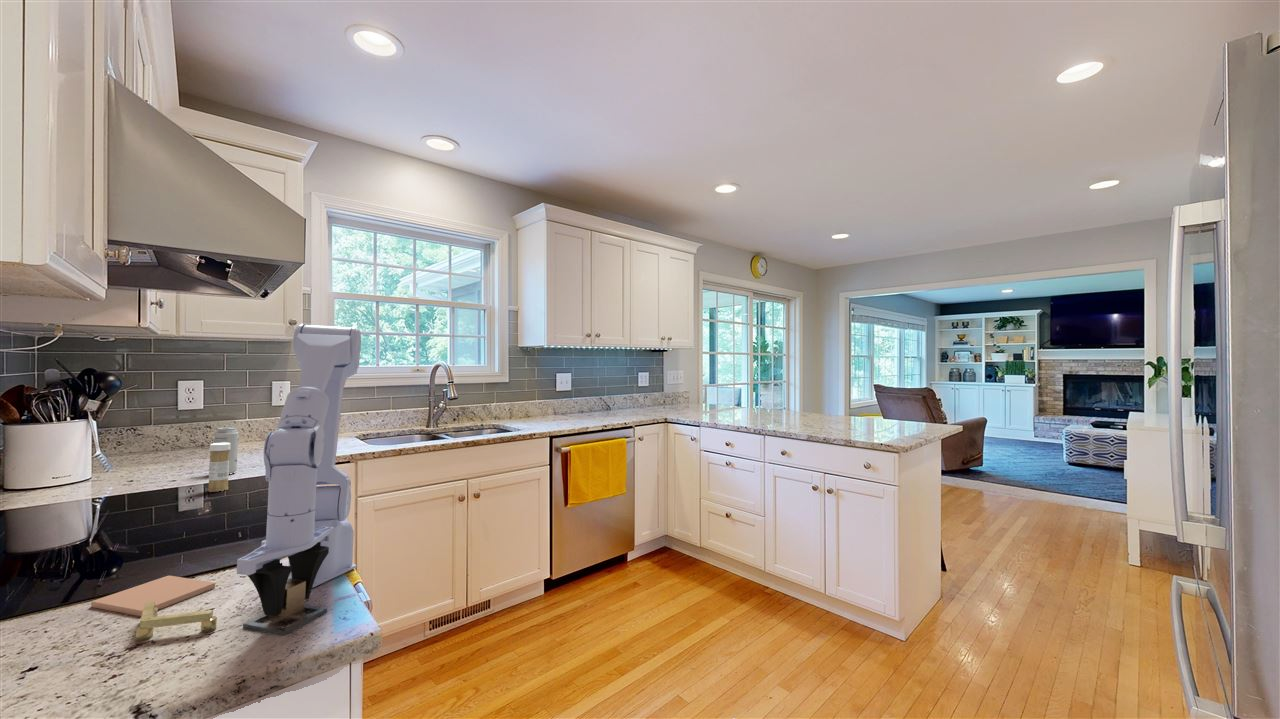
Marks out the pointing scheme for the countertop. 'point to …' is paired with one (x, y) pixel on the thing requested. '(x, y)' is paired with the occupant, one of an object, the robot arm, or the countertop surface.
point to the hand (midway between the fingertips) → (287, 606)
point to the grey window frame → (288, 611)
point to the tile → (153, 594)
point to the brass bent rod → (171, 621)
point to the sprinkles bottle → (219, 467)
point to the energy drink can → (230, 437)
